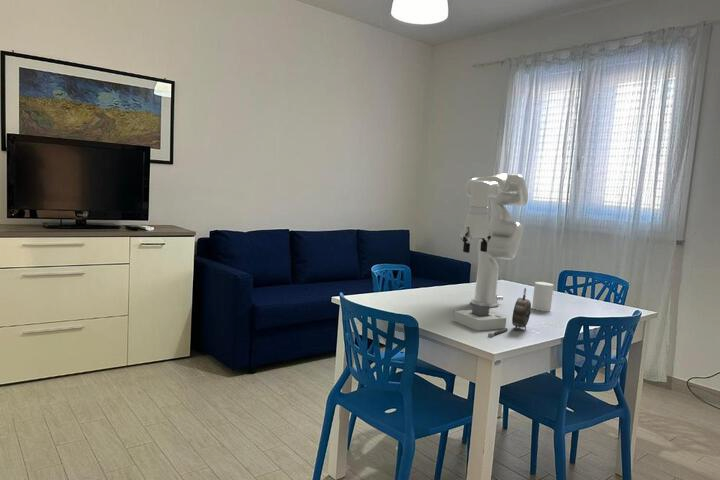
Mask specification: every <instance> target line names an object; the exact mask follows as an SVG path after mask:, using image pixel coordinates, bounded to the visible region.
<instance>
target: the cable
mask: <svg viewBox="0 0 720 480" xmlns="http://www.w3.org/2000/svg"><path fill="white" fill-rule="evenodd" d="M508 330H509V328H508V327H505V328H501V329H500V330H497V331H495V332H493V331H492V332H488V334H487V337H489V338H494V337H495V336H497V335H499V334H502V333H504V332H507V331H508Z"/></svg>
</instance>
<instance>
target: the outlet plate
mask: <svg viewBox="0 0 720 480" xmlns="http://www.w3.org/2000/svg"><path fill="white" fill-rule="evenodd" d="M453 312H454V313H453V322H455V323H458V324H461V325H463V326H465V327H468V328H471V329H473V330H475V331H488V330H499V329H500V330H502V329H505V328H506V327H507V325H506V323H507V317H505V316H502V315H500V314H496V313H493V312H490V311H489V316H486V317H478V316H476V315H473V314H472V309H467V310H466V309H462V310H454V311H453Z"/></svg>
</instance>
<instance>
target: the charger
mask: <svg viewBox="0 0 720 480" xmlns="http://www.w3.org/2000/svg"><path fill="white" fill-rule="evenodd" d="M489 306H490V305H486V304H483V303H473V304H472V307H471V308H472V309H471V310H472V314H473V315H476V316H478V317H486V316H489V312H490V307H489Z"/></svg>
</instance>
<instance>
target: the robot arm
mask: <svg viewBox="0 0 720 480" xmlns="http://www.w3.org/2000/svg"><path fill="white" fill-rule="evenodd" d="M464 191H465V192H464V193H465V194H466V196H467V197H469V207H468V209H469V211H468V213H467V214H466V217H465V221H464V228H463V230H461V231H460V232H459V235H460V239H461V240H462V243H463V246H462V247H463V250H462V251H463V253H466V254H469V253H470V252H471V250H470V249H471V243H470V242H471V241H472V240H473V239H474V240H476V239H479V240H478V242H477V251H478V255H477V257H478V259H477V260H478V261H477V272H476V283H475V293H474V298H472V299H470V303H471V304H472V305H473V303H483V304H486V305H490V306H489V308H495V307H496V308H497V307H498V306H499V305H500V304H499V302H498V301H503V299H504V296H503V295H498V294H497V290H498V282H499V281H498V279H499V272H500V267H499V264H498V262H497V260H496V259H501V260H508V261H509V260H513V259H515V258H516V256H517V253H518V252H519V251H518V250H519V247H520V243H521V241H522V237H523V232H524V231H523V225H522V223H520V222H518V221H512V220H511V214H510V212H509V211H508V209H507V208H506V207H505V206H510V207H511V206H512V207H524V206H526V205H527V204H528V201H529V192H528V188H527V184H526V180H525V177H524V176H523V175H522V174H519V173H507V172H504V173H503V172H501V173H497V174H494V175H490V176H488V175H487V176H481V177H473V178H471V179H469V180H468V181H467V182H466V184H465V187H464ZM489 203H490V204H491V210H492V214H491V218H490V221H489V214H488V213H489V211H490V209H489Z"/></svg>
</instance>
